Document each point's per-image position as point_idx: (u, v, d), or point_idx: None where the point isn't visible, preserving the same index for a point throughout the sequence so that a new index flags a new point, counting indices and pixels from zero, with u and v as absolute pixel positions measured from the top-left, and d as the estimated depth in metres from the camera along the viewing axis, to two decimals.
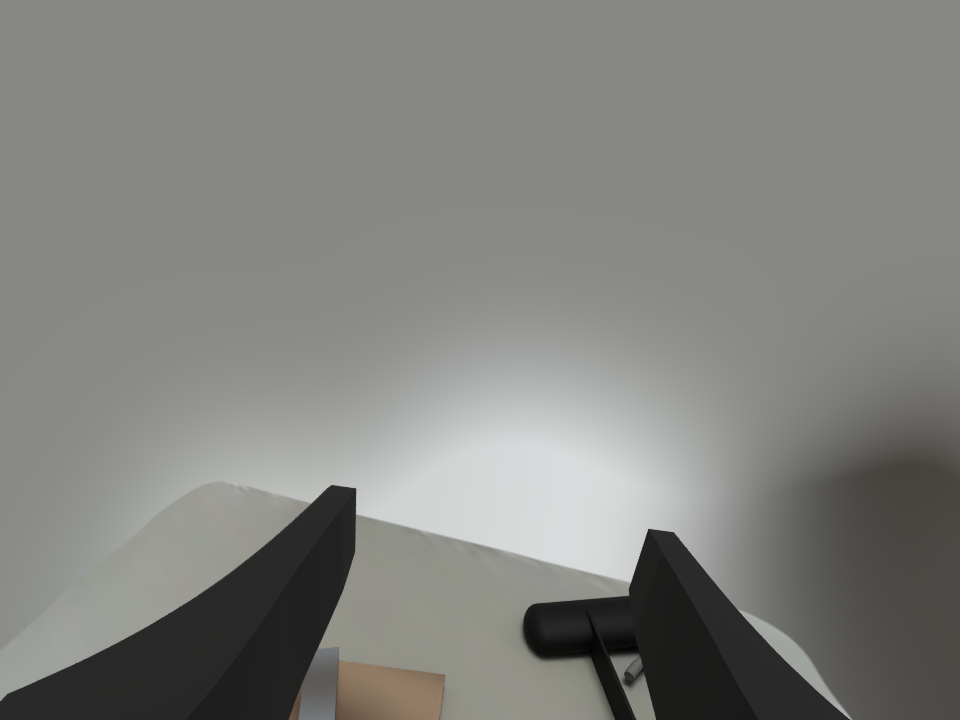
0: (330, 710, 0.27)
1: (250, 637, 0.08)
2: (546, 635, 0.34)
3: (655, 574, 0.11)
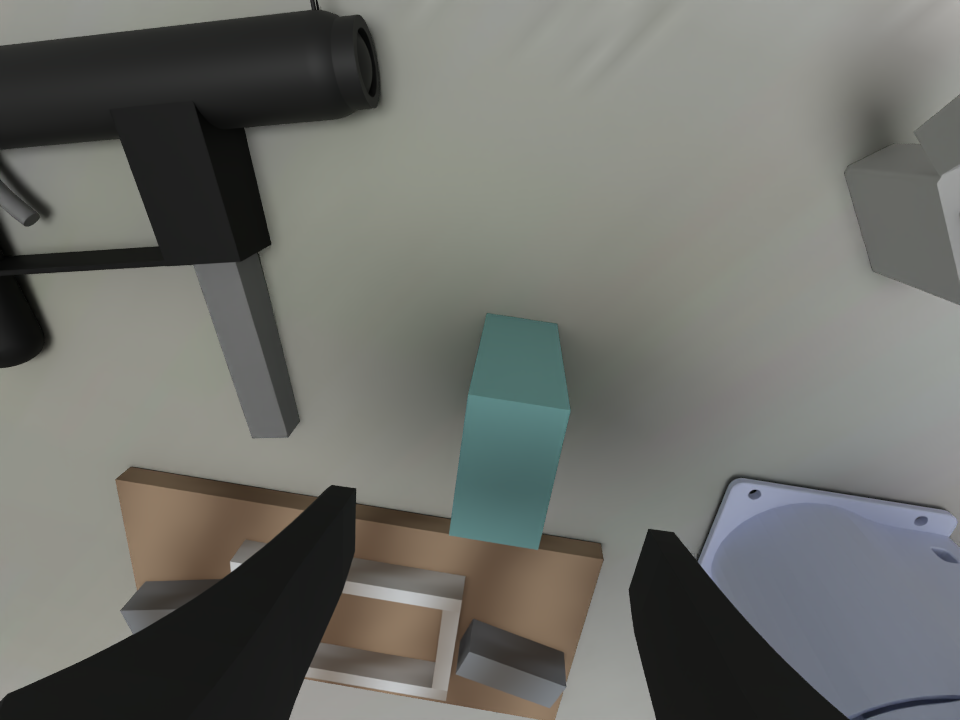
0: None
1: (250, 637, 0.08)
2: (6, 349, 0.21)
3: (655, 574, 0.11)
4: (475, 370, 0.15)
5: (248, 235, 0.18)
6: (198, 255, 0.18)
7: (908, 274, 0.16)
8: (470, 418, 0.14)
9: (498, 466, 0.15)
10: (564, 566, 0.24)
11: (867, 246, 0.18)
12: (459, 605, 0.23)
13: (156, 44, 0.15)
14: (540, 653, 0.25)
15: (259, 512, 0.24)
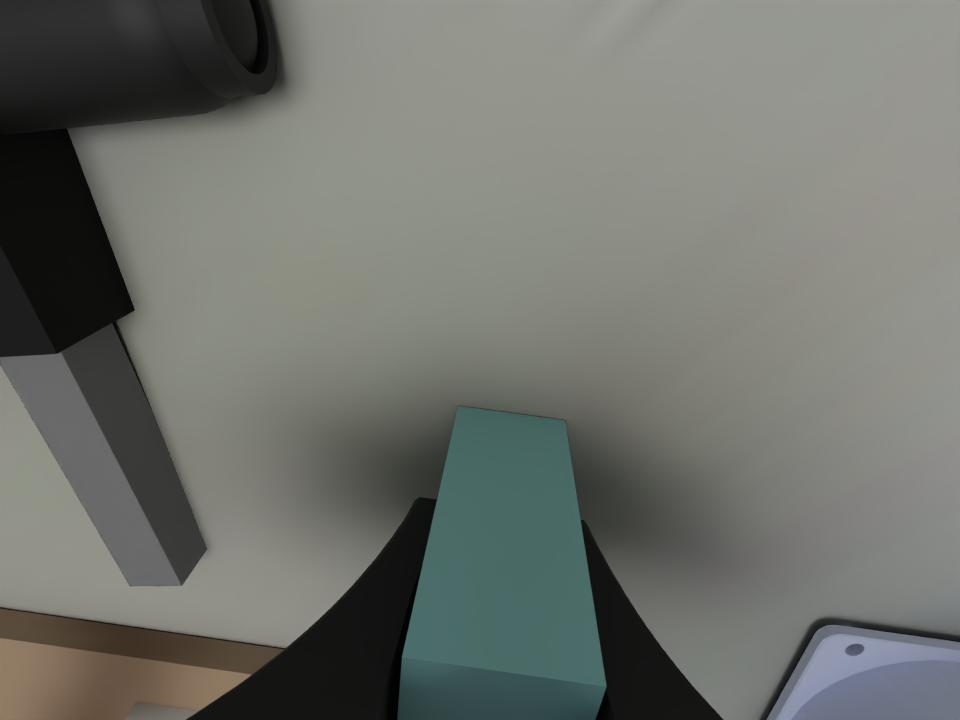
0: None
1: (392, 657, 0.08)
2: None
3: None
4: (425, 567, 0.08)
5: (77, 307, 0.11)
6: None
7: None
8: (410, 692, 0.07)
9: None
10: None
11: None
12: None
13: None
14: None
15: (150, 670, 0.17)
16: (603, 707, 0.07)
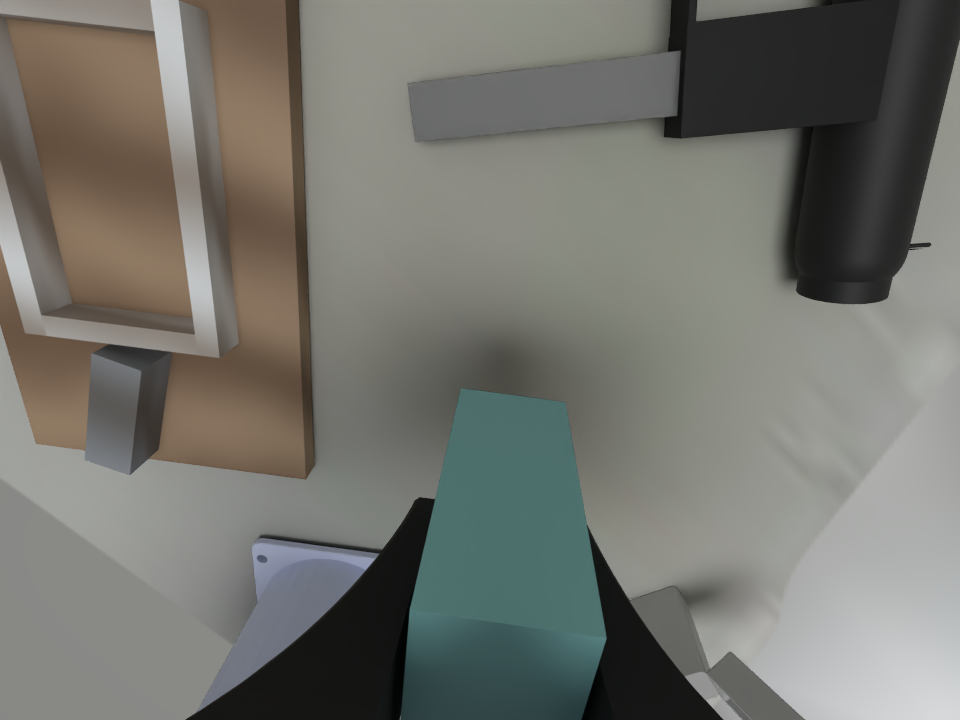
0: None
1: (392, 657, 0.08)
2: None
3: None
4: (431, 531, 0.09)
5: None
6: (696, 78, 0.14)
7: None
8: (418, 646, 0.08)
9: (474, 717, 0.08)
10: (285, 445, 0.22)
11: None
12: (210, 354, 0.18)
13: (944, 84, 0.13)
14: (153, 432, 0.21)
15: (269, 48, 0.16)
16: (603, 707, 0.07)
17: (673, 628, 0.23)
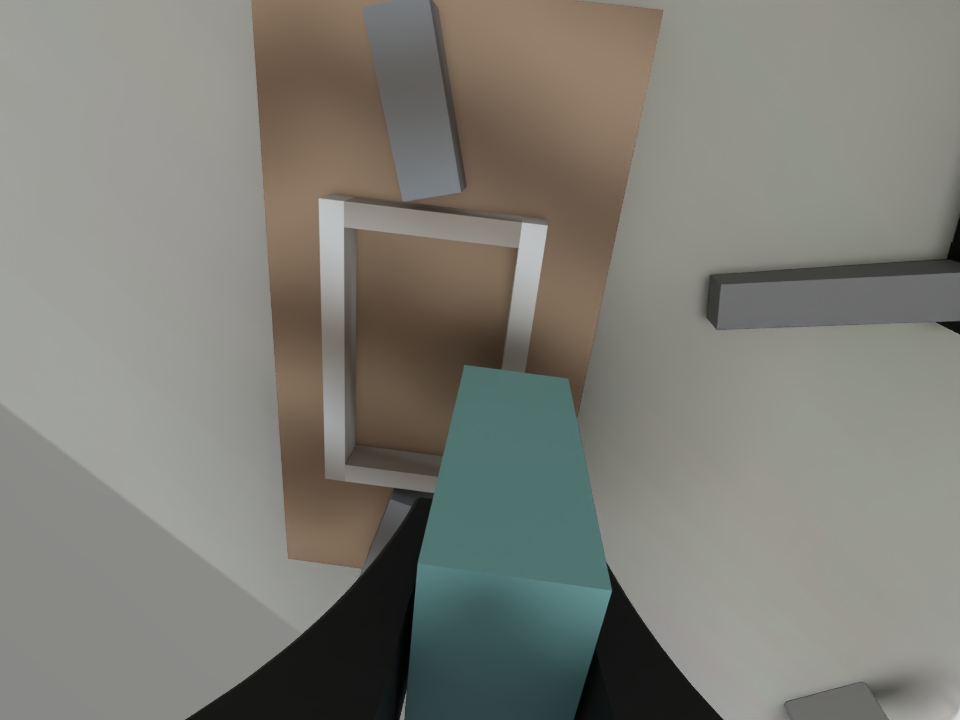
0: (446, 150, 0.15)
1: (392, 657, 0.08)
2: None
3: None
4: (437, 494, 0.09)
5: None
6: None
7: None
8: (425, 601, 0.08)
9: (480, 674, 0.08)
10: None
11: (807, 698, 0.27)
12: None
13: None
14: None
15: (595, 248, 0.17)
16: (603, 707, 0.07)
17: None
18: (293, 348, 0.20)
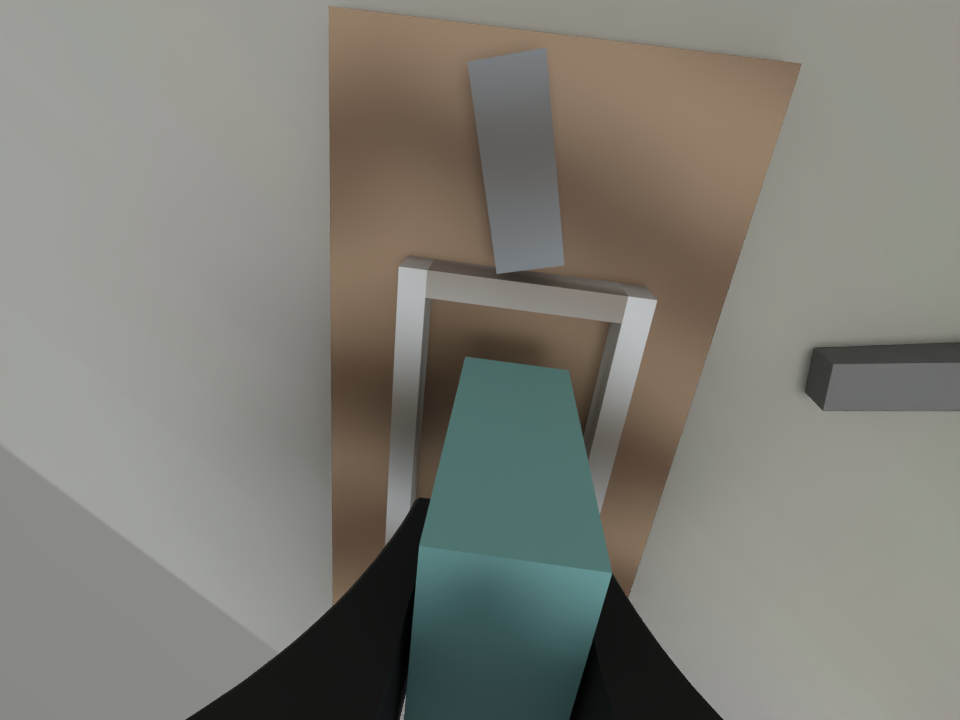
0: (551, 220, 0.13)
1: (392, 657, 0.08)
2: None
3: None
4: (438, 479, 0.09)
5: None
6: None
7: None
8: (426, 584, 0.08)
9: (481, 658, 0.08)
10: None
11: None
12: None
13: None
14: None
15: (699, 318, 0.16)
16: (603, 707, 0.07)
17: None
18: (353, 417, 0.18)
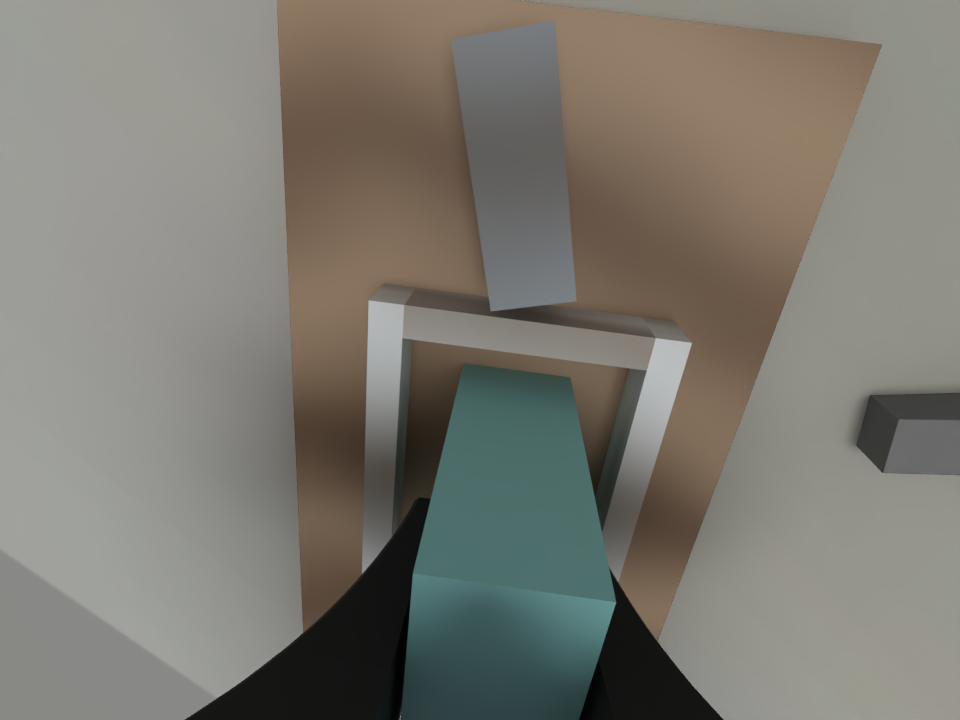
0: (560, 245, 0.10)
1: (392, 657, 0.08)
2: None
3: None
4: (434, 498, 0.08)
5: None
6: None
7: None
8: (421, 611, 0.07)
9: (478, 687, 0.08)
10: None
11: None
12: None
13: None
14: None
15: (739, 360, 0.13)
16: (603, 707, 0.07)
17: None
18: (321, 470, 0.15)
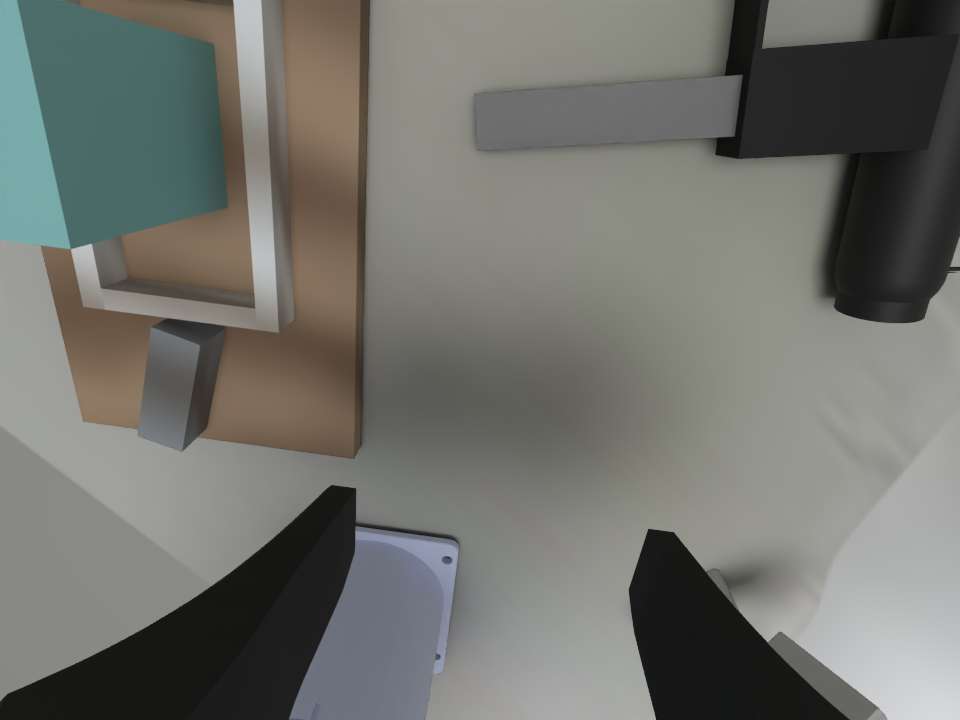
0: None
1: (250, 637, 0.08)
2: None
3: (655, 574, 0.11)
4: None
5: None
6: (757, 102, 0.15)
7: None
8: None
9: None
10: (336, 424, 0.22)
11: None
12: (269, 329, 0.18)
13: None
14: (204, 409, 0.21)
15: (341, 19, 0.16)
16: None
17: None
18: None
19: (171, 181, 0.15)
